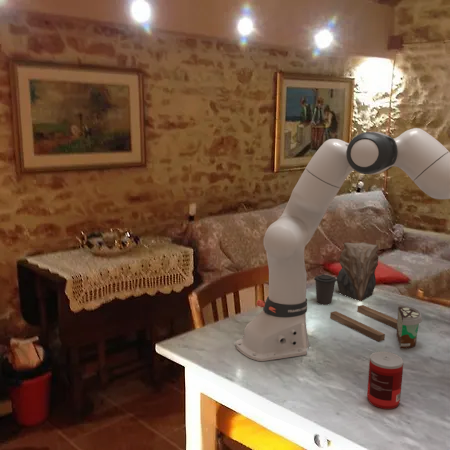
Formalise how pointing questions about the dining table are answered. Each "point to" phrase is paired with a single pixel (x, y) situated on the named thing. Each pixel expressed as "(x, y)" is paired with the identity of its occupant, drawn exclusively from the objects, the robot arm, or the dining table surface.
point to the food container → (407, 326)
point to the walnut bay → (362, 327)
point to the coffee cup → (324, 288)
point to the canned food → (385, 379)
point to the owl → (358, 270)
